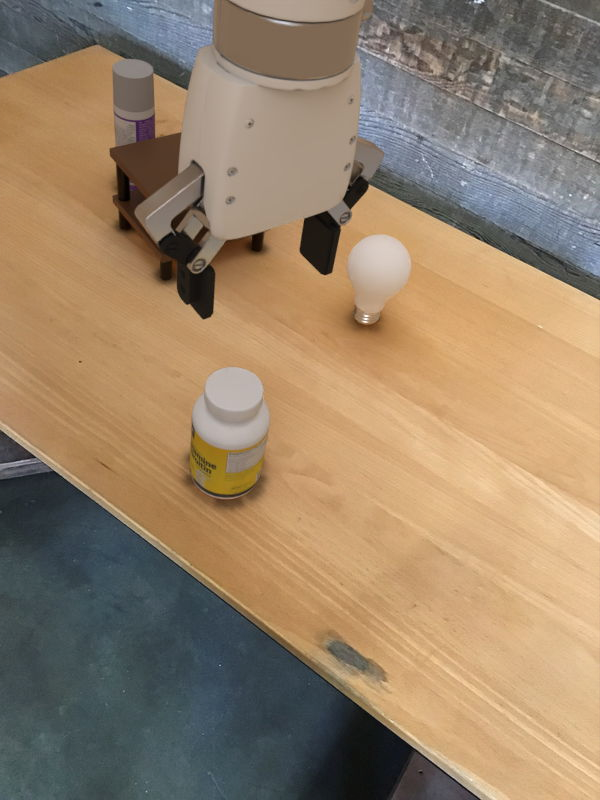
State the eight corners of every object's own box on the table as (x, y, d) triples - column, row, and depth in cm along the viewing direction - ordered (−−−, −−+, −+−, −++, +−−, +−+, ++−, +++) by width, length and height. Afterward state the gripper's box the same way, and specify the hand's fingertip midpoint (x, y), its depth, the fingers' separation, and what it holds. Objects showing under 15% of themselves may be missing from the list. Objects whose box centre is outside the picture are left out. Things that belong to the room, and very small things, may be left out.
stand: (162, 284, 84) (162, 208, 76) (113, 224, 89) (109, 147, 82) (268, 250, 90) (277, 177, 83) (216, 196, 96) (220, 123, 88)
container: (151, 173, 97) (150, 57, 86) (159, 194, 94) (158, 78, 83) (114, 175, 96) (108, 58, 84) (121, 197, 93) (115, 79, 82)
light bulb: (355, 292, 87) (375, 212, 79) (404, 320, 85) (430, 241, 77) (323, 321, 83) (340, 240, 75) (373, 351, 81) (397, 271, 73)
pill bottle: (189, 443, 70) (192, 356, 61) (259, 444, 71) (272, 358, 62) (189, 503, 66) (192, 418, 57) (263, 503, 67) (277, 420, 58)
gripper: (370, -19, 45) (326, 221, 58) (97, 21, 37) (116, 289, 50) (455, 35, 41) (388, 279, 54) (172, 92, 33) (172, 362, 46)
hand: (258, 283), depth 52 cm, fingers open, 9 cm apart
